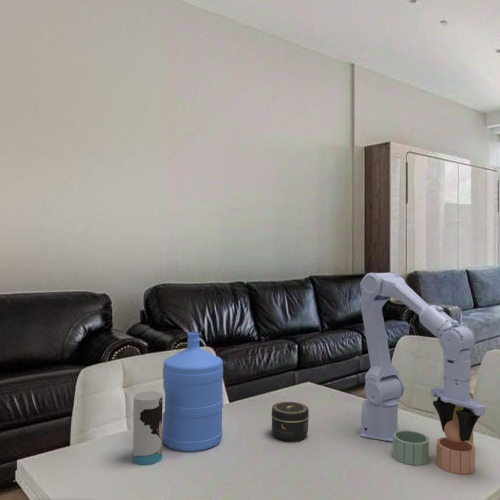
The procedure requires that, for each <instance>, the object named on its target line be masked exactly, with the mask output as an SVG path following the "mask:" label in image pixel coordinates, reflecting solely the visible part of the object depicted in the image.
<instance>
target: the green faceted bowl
mask: <svg viewBox="0 0 500 500" xmlns="http://www.w3.org/2000/svg"><path fill="white" fill-rule="evenodd" d="M399 430H400V429H399ZM392 457H393V458H394V459H395V460H396V461H398V462H400V463H402V464H404V465H405V464H406V465H411V466H424V465H426V464H428V463H429V458H430V437H428V436H427V435H426V434H424V433H422V432H419V431H416V430H415V431H414V430H407V429H403V430H402V429H401V430H400V431H396V432H394V434H393V442H392Z"/></svg>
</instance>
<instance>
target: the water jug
mask: <svg viewBox="0 0 500 500" xmlns="http://www.w3.org/2000/svg"><path fill="white" fill-rule="evenodd" d="M200 335H201V334H200V332H197V331H190V332H187V347H186V348H185V349H183V350H181V351H178V352H177V353H175V354H173V355H171V356H168V357H167V358H165V359H164V360H163V367H162V380H163V382H162V383H163V385H162V387H163V390H164V412H162V443H164V445H166V447H168V448H170V449H173V450H176V451H180V452H199V451H204V450H207V449H212V448H213V447H215V446H217V445H218V444H219V443H220V442H221V441H222V438H223V408H224V407H223V406H224V404H223V403H224V397H223V377H224V365H223V362H224V360H223V359H222V358H221V357H220V356H217V355H215V354H213V353H211V352H210V351H209V352H208V351H206V350H204V349H203V348H201V346H200V341H201V340H200Z"/></svg>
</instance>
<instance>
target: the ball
mask: <svg viewBox="0 0 500 500" xmlns="http://www.w3.org/2000/svg"><path fill="white" fill-rule="evenodd" d="M443 433H444V434H445V437H447V438H448V439H449V440H450V441H452V442H455V443H460V442H462V441H461V440H460V427H459V421H458V420H451V421H449V422H447V423H446V425H445V427H444V432H443Z"/></svg>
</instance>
